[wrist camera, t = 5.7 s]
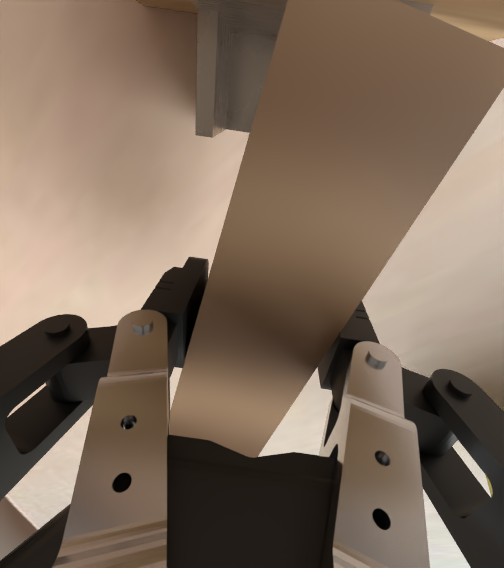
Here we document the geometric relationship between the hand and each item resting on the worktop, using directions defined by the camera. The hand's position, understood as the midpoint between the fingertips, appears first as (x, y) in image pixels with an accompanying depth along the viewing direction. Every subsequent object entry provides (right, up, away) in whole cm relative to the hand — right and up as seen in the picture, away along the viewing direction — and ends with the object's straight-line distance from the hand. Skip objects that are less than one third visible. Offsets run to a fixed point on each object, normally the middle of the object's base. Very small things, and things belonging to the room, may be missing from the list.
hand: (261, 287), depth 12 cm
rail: (0, 0, +1) cm, 1 cm away
